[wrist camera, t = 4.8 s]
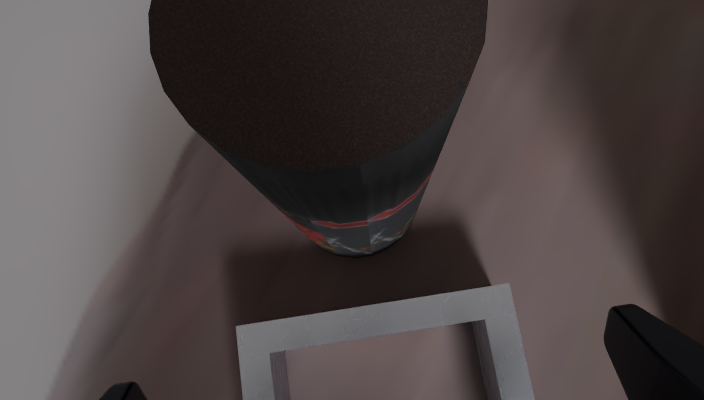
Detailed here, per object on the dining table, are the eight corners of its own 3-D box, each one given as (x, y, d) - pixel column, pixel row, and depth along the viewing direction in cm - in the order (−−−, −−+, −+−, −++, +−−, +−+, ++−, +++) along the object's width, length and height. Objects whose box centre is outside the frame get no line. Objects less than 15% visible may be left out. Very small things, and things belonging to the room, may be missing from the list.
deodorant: (434, 238, 23) (536, 116, 8) (309, 272, 23) (182, 214, 8) (398, 120, 24) (429, -171, 9) (280, 153, 24) (122, -87, 9)
